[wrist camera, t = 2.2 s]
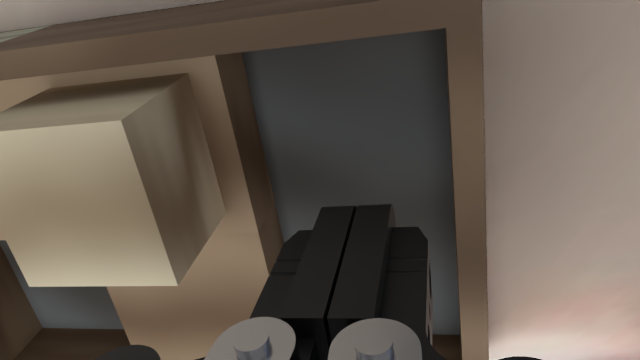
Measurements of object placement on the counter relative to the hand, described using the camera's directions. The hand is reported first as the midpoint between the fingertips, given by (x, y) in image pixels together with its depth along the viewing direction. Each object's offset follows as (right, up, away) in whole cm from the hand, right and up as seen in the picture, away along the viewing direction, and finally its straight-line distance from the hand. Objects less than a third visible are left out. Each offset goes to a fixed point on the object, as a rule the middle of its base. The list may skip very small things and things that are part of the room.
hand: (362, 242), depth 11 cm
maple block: (-7, +2, +6) cm, 10 cm away
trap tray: (-6, 0, +10) cm, 12 cm away
